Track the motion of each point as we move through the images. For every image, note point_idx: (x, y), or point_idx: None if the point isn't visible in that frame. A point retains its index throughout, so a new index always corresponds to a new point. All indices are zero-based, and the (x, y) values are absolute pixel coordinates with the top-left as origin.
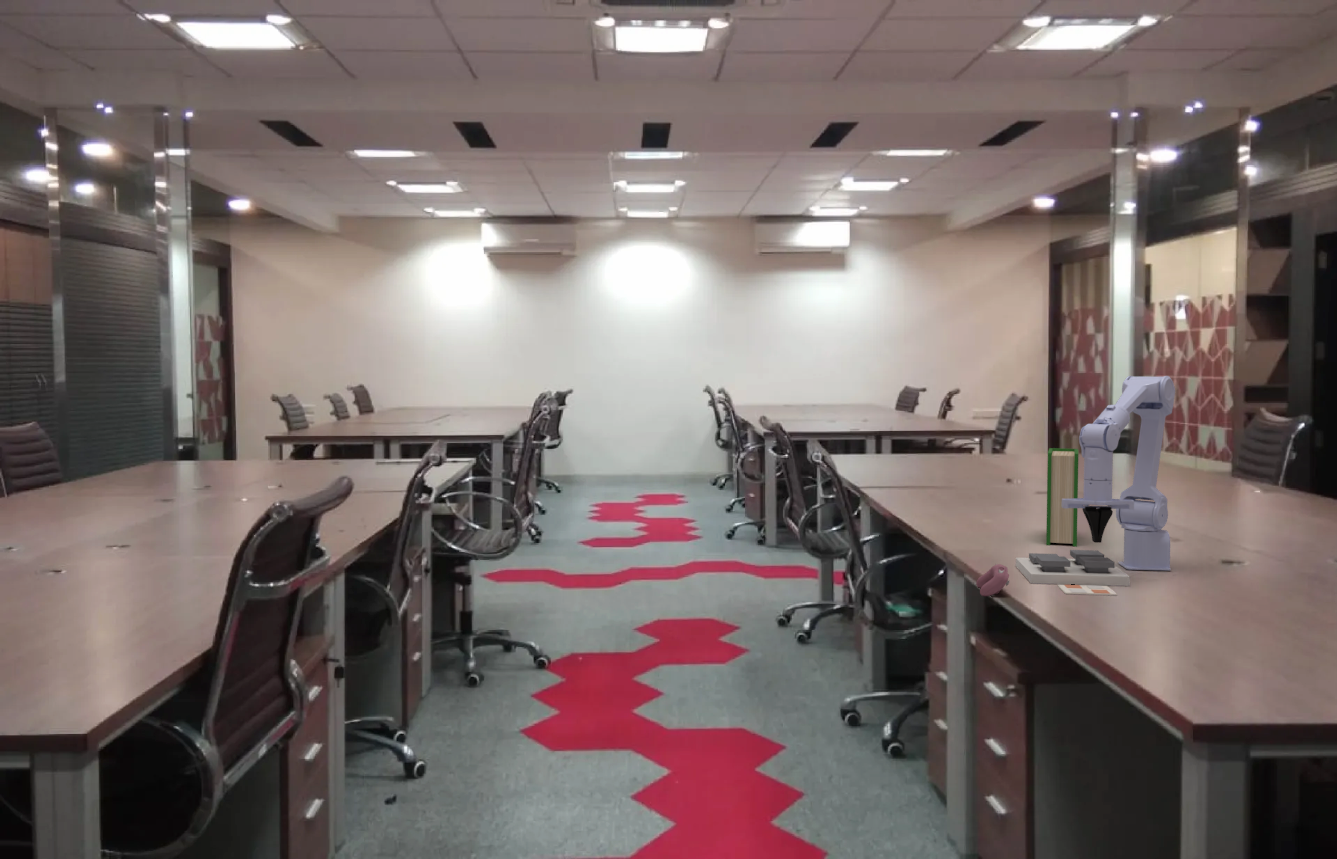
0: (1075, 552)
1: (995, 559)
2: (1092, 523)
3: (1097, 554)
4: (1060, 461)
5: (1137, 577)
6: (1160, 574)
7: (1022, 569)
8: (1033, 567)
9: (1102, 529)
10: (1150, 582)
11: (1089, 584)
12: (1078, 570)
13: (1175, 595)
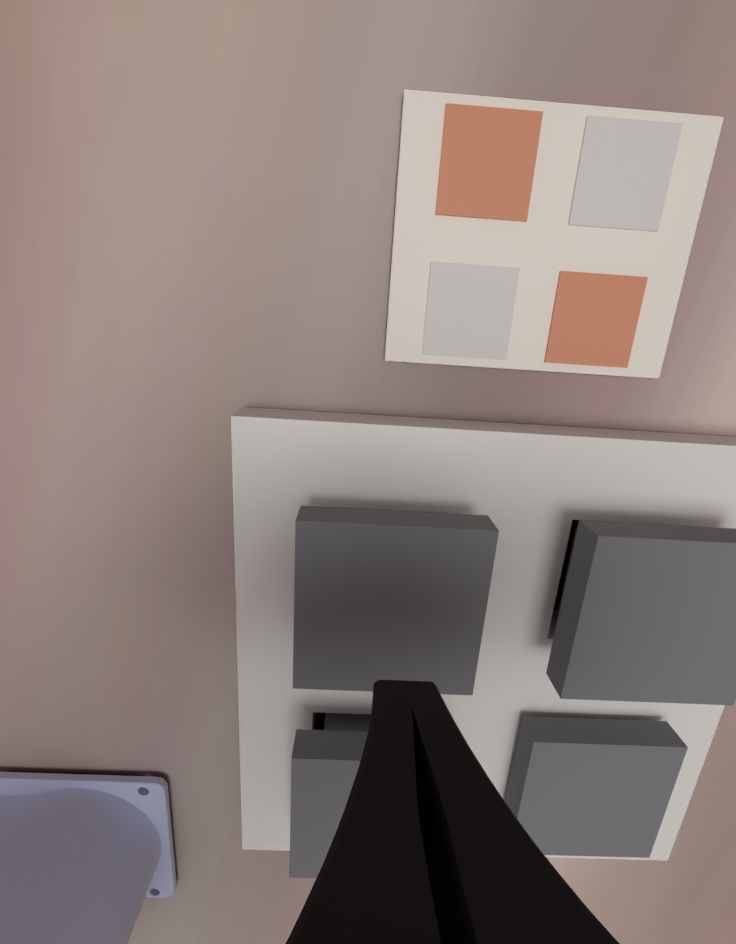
0: None
1: (663, 923)
2: (554, 887)
3: (327, 772)
4: None
5: (153, 631)
6: (28, 704)
7: None
8: None
9: (380, 790)
10: (111, 517)
11: (462, 421)
12: None
13: (28, 134)
